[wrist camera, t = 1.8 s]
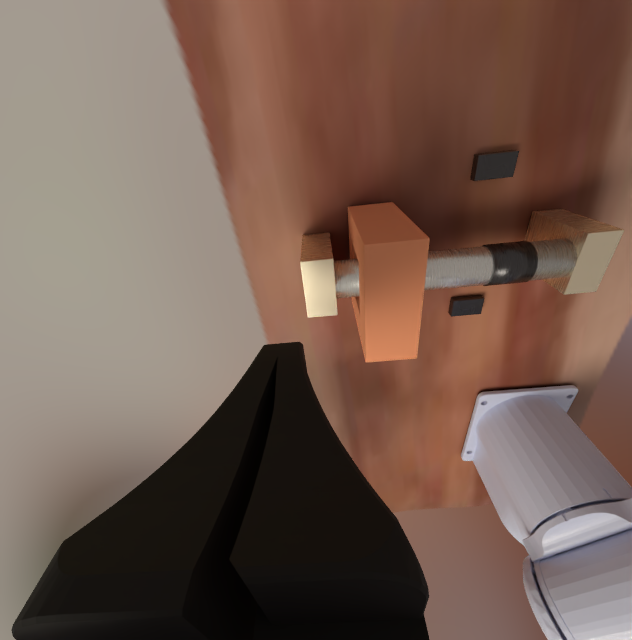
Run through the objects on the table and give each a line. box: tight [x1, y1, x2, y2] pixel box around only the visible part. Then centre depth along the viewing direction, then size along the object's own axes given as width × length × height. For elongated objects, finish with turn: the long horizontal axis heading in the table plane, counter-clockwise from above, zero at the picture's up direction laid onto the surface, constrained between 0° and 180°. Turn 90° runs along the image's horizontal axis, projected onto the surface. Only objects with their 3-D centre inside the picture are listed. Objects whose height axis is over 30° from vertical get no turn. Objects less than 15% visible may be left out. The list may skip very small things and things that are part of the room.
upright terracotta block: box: [348, 202, 430, 362], centre depth 16 cm, size 2×6×6 cm, turn 6°
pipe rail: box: [300, 150, 624, 318], centre depth 17 cm, size 15×10×4 cm, turn 96°
